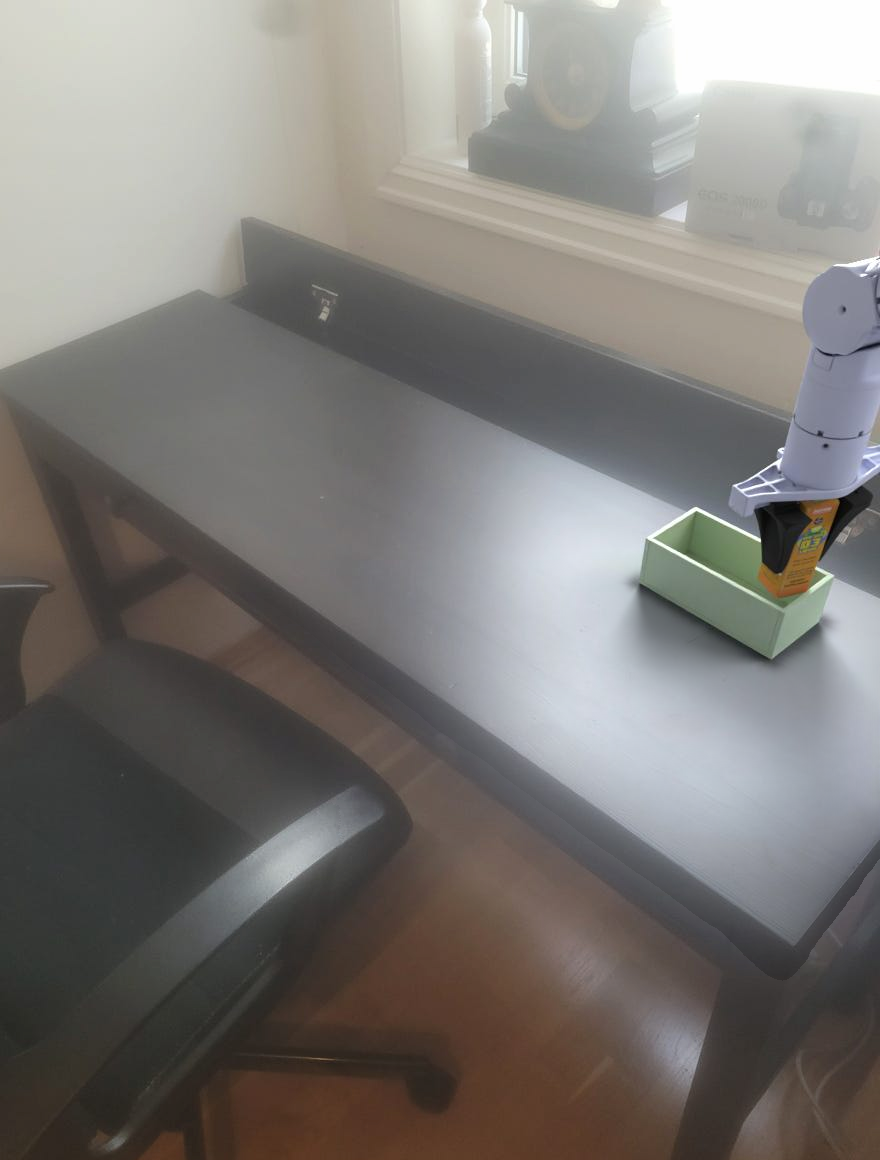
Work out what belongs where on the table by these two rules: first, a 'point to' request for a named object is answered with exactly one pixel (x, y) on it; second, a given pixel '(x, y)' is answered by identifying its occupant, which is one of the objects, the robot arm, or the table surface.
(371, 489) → the table surface
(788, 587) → the supplement box
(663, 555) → the storage bin
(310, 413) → the table surface
